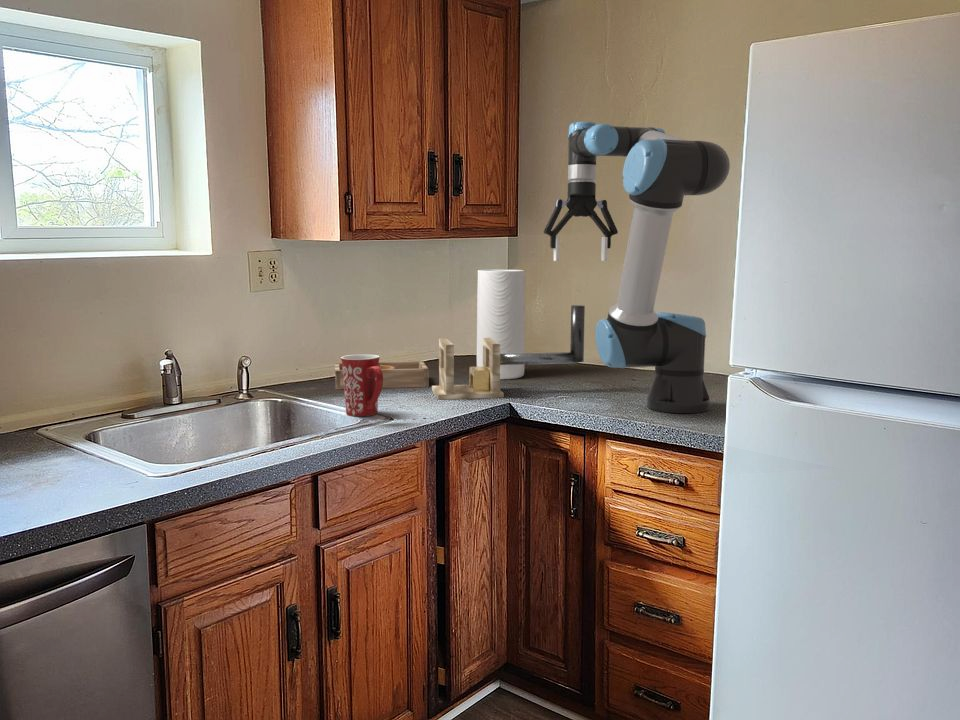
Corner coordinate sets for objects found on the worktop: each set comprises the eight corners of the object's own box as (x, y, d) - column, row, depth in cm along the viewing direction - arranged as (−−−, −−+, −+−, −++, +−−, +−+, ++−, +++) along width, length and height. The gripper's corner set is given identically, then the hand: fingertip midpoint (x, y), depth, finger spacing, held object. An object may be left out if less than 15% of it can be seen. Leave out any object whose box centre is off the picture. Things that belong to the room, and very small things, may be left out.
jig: (493, 388, 232) (493, 337, 230) (503, 397, 218) (504, 343, 216) (431, 390, 229) (431, 338, 227) (438, 399, 215) (438, 345, 213)
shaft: (581, 362, 229) (582, 305, 227) (585, 364, 226) (586, 306, 224) (488, 364, 225) (488, 306, 223) (490, 366, 221) (490, 307, 219)
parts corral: (428, 386, 234) (428, 368, 233) (335, 389, 229) (335, 371, 229) (422, 377, 249) (422, 361, 248) (335, 380, 244) (334, 363, 244)
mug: (334, 412, 198) (333, 356, 196) (368, 408, 204) (367, 352, 202) (362, 421, 188) (361, 362, 186) (396, 416, 194) (395, 358, 192)
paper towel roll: (511, 381, 242) (512, 271, 238) (468, 377, 249) (468, 270, 245) (532, 374, 255) (533, 270, 251) (490, 371, 262) (490, 269, 257)
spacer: (488, 391, 221) (488, 370, 220) (473, 391, 220) (473, 370, 219) (484, 386, 227) (484, 366, 227) (469, 386, 227) (469, 366, 226)
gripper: (621, 183, 234) (619, 260, 237) (533, 181, 229) (532, 260, 232) (630, 181, 226) (628, 261, 229) (540, 180, 222) (539, 261, 225)
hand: (580, 261), depth 231 cm, fingers open, 13 cm apart
